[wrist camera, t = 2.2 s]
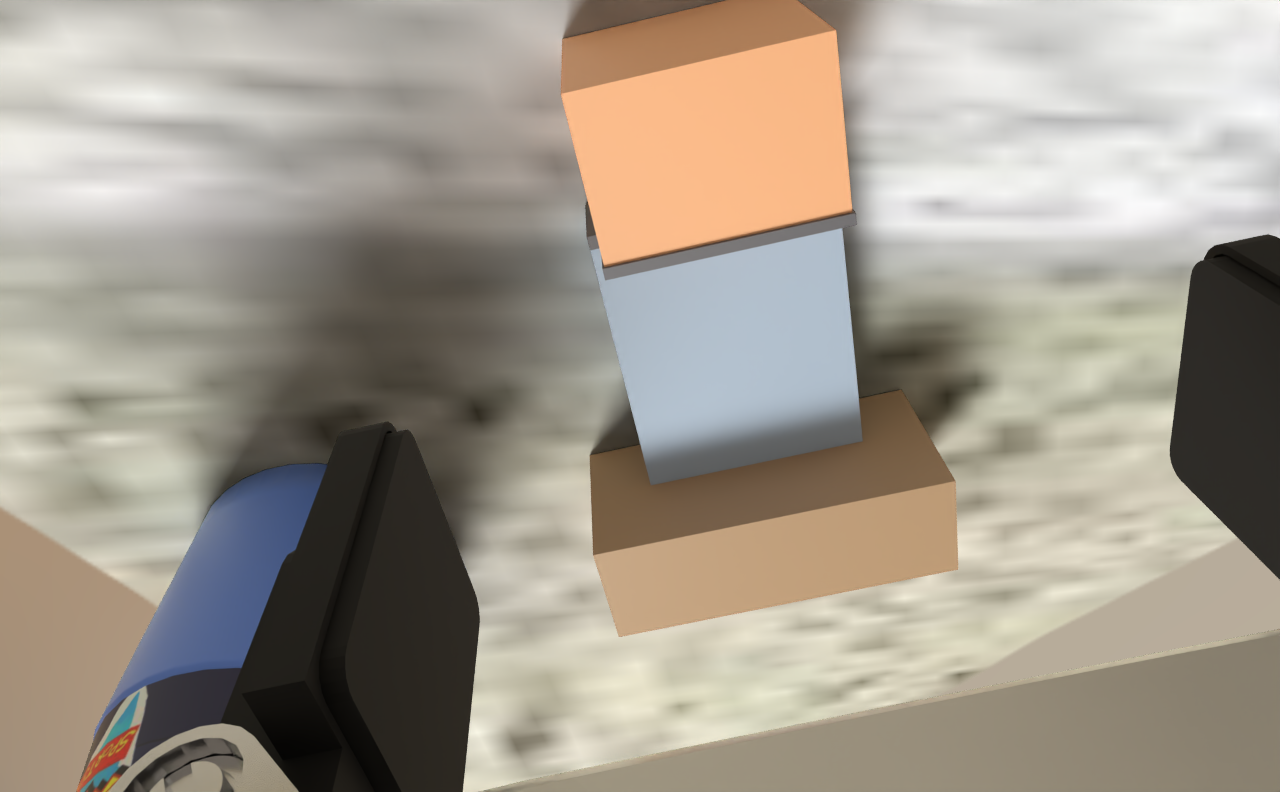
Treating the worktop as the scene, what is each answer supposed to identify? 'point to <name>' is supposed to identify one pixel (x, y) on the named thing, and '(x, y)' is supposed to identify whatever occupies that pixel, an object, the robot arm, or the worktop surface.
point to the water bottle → (204, 621)
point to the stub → (708, 132)
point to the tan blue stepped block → (756, 445)
